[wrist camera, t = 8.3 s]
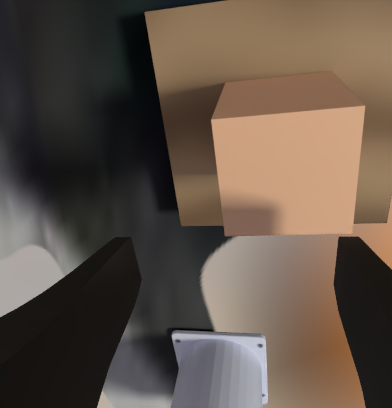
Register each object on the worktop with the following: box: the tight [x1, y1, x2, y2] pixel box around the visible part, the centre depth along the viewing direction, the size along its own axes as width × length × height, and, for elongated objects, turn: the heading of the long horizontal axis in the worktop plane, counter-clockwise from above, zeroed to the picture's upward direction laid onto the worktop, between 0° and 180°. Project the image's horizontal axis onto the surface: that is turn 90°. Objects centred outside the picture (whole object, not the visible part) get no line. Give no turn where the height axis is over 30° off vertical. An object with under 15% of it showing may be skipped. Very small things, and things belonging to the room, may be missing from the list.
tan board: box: [144, 0, 392, 226], centre depth 19 cm, size 12×12×2 cm
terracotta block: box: [211, 71, 365, 236], centre depth 15 cm, size 5×5×6 cm
